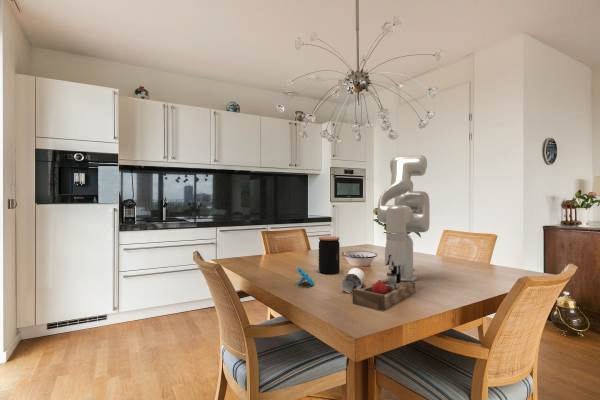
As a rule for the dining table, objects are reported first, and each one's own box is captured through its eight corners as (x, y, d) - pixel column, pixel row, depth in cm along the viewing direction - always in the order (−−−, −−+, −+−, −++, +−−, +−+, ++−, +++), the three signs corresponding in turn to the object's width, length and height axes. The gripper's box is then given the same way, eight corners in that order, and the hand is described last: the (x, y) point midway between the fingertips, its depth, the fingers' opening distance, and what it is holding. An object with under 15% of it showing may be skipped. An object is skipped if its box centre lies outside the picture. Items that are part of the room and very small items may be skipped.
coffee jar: (340, 274, 163) (340, 238, 163) (319, 274, 163) (319, 238, 163) (338, 270, 173) (338, 236, 173) (318, 270, 173) (318, 236, 173)
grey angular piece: (390, 289, 135) (390, 269, 135) (407, 292, 131) (407, 272, 131) (374, 296, 125) (374, 275, 125) (392, 300, 121) (392, 278, 121)
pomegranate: (369, 298, 123) (369, 277, 123) (384, 298, 124) (384, 277, 124) (375, 303, 118) (375, 281, 118) (390, 302, 118) (390, 280, 118)
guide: (388, 287, 139) (388, 275, 139) (415, 292, 131) (415, 280, 131) (352, 303, 118) (352, 289, 118) (382, 310, 110) (382, 295, 110)
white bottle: (367, 283, 147) (367, 265, 147) (361, 294, 129) (361, 274, 129) (349, 281, 149) (349, 264, 149) (341, 292, 132) (341, 273, 132)
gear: (314, 284, 138) (298, 267, 140) (304, 294, 138) (288, 276, 140) (316, 281, 149) (301, 265, 150) (307, 291, 149) (292, 274, 150)
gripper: (395, 234, 139) (395, 278, 139) (378, 237, 128) (378, 284, 128) (412, 236, 134) (412, 280, 134) (396, 239, 123) (396, 288, 123)
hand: (396, 282), depth 131 cm, fingers closed
